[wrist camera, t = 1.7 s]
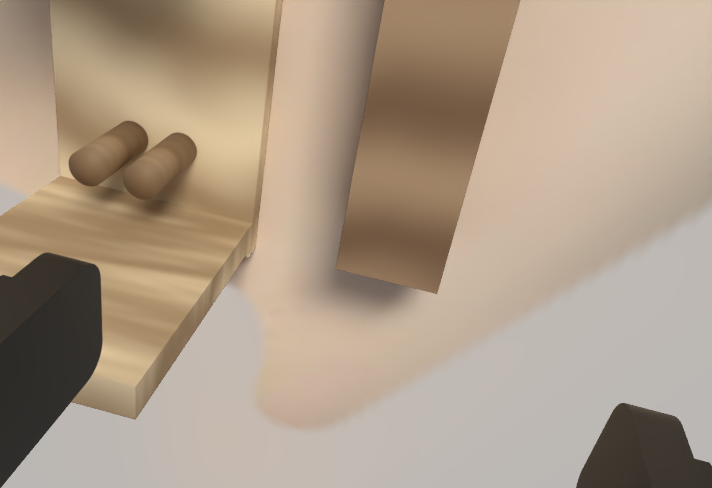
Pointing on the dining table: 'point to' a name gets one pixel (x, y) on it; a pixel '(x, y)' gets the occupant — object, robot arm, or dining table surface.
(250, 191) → the peg jig
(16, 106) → the dining table surface
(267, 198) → the dining table surface
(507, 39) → the shelf board
